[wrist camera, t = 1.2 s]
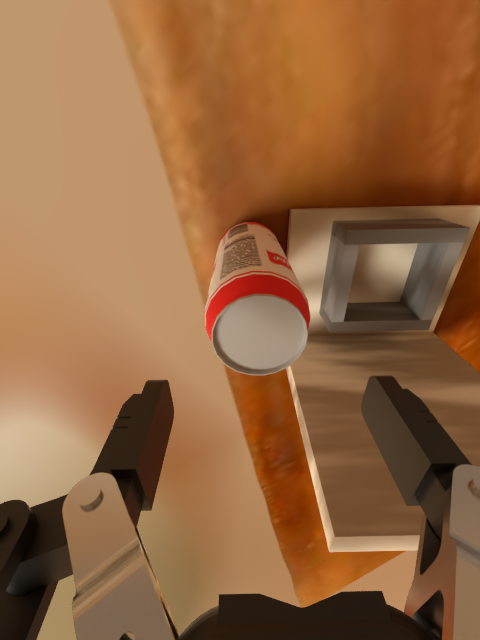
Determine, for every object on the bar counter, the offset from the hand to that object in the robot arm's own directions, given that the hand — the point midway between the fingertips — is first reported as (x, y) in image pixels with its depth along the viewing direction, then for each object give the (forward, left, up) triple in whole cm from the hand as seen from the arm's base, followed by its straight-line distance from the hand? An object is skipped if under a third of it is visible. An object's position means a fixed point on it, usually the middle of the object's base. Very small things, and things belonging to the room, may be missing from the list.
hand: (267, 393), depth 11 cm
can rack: (+4, +13, -20) cm, 24 cm away
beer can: (0, 0, -20) cm, 20 cm away
